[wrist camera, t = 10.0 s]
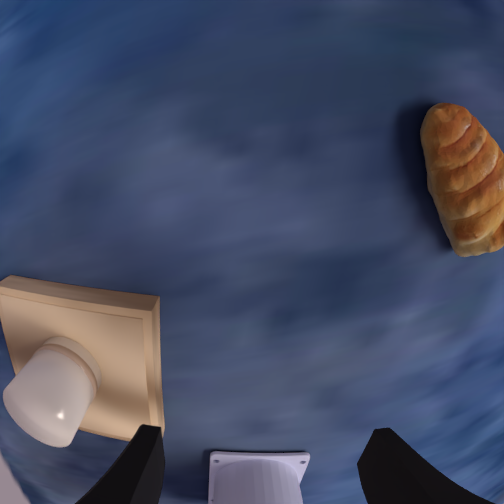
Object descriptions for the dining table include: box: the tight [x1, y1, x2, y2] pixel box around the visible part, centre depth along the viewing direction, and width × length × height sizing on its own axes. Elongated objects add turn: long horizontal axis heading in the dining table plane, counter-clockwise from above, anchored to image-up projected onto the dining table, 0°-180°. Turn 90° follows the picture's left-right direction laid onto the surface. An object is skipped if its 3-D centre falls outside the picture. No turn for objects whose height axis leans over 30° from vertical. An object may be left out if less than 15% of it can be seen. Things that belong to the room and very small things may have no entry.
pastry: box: [420, 103, 504, 257], centre depth 15 cm, size 9×7×4 cm
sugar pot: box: [3, 337, 102, 447], centre depth 14 cm, size 4×4×5 cm
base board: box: [0, 275, 165, 441], centre depth 18 cm, size 11×11×2 cm
